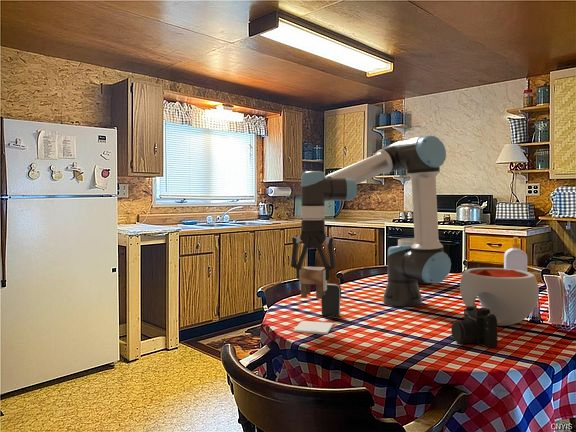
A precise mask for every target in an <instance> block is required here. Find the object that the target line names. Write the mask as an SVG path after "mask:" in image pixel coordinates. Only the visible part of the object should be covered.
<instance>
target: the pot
mask: <svg viewBox="0 0 576 432" xmlns="http://www.w3.org/2000/svg"><path fill="white" fill-rule="evenodd" d="M459 283H460V284H459V292H460V296H461V299H462V301H463V304H464V305H465V308H466V307H467V306H473V307H475V306H476V304H475V303H476V300H477V299H478V300H479V303H480V308H487V309H489V310H490V314H494V315H495V316H496V319H497V326H500V327H503V326H504V327H505V326H511V325H515V324H518V323H520V322H522V321H523V320H525V319H527V318H528V317H529V316H530V315H531V313H533V311H534V309H535V308H536V305H537V304H538V301H539V297H540V296H539V294H540V292H539V291H540V289H539V284H538V280H537V277H536V276H535V274H534V273H532V272H529V271H527V272H526V271H521V270H514V269H504V267H501V268H500V267H476V268H475V267H473V268H467V269H465V270H464V271H463V272H462V275H461V277H460V282H459Z"/></svg>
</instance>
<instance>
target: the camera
mask: <svg viewBox="0 0 576 432" xmlns="http://www.w3.org/2000/svg"><path fill="white" fill-rule="evenodd" d="M477 307H478V306H477V305H475V307H473V306H467V307H466V306H465V308H463V320H457V321H456V320H454V322H452V324H451V328H450V329H451V330H450V331H451V336H452V337H453V340H454V341H455V342H456V343H458V344H459V343H460V344H465V343H467V344H469V343H472V344H474V343H475V344H474V345H479V346H484V347H485V348H487V349H493V350H495V349H498V325H497V319H496V316H495V315H494V314H490V310H489V309H487V308H482V307H479V308H477Z"/></svg>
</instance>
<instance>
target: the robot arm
mask: <svg viewBox="0 0 576 432" xmlns="http://www.w3.org/2000/svg"><path fill="white" fill-rule="evenodd" d="M446 158H447V150H446V147H445V144H444V143H443V142H442V141H441V140H440V138H439V137H437V136H435V135H420V136H416V137H411V138H403V139H400V140H398V141H395V142H393V143H391V144H389V145H387V146H385V147H383V148H381V149H379V150H377V151H376V152H375V154H374V155H371V156H369V157H366V158H365V159H362V160H360V161H357V162H354V163H353V164H350V165H348V166H346V167H343V168H341V169H340V168H339V169H338V170H336V171H334V172H331V173H329V174H327V175H325V172H324V171H320V170H319V171H316V170H315V171H314V170H312V171H311V170H310V171H303V172H302V174H301V180H300V181H301V182H300V190H301V193H300V196H301V197H300V199H301V209H300V210H301V211H300V213H301V215H300V216H301V219H302V220H301V223H300V225H301V233H300V236H294V237H292V238H291V240H292V242H291V243H292V253H291V259H290V260H291V261H290V267H291V268H293V269H295V270H296V279H297V280H300V269H302V268H303V264H304V262H305V259H306V256H307V254H308V251H309V249H312V248H313V249H316V250H317V251H318V254H319V256H320V259H321V262H322V265H323V267H325V270H324V271H323V291H326V290H327V283H328V281H330V279H331V270H334V269H335V268H336V266H337V265H336V264H337V263H336V257H335V249H334V243H335V237H329V236H327V235H326V232H325V231H326V230H325V229H326V227H325V226H326V224H325V220H324V219H325V217H326V216H325V215H326V211H325V209H326V208H325V206H326V205H325V203H326V202H329V201H330V202H331V201H332V202H333V201H337V202H339V201H340V202H341V201H342V202H346V201H352V200H354V199H355V198H356V196H357V193H358V186H357V185H358V184H359V185H360V184H361V183H363V182H365V181H367V180H370V179H372V178H374V177H377V176H378V175H381V174H390V173H392V172H395V171H402V170H406V175H407V176H408V177H409V178H410V179H411V193H412V196H411V198H412V215H413V233H414V235H413V236H414V237H413V238H415V242H414V244H413V245H406V246H398V245H395V246H389V247H388V249H387V256H386V260H387V263H386V264H387V283H386V287H385V290H384V293H383V298H382V299H383V300H382V301H383V303H384V304H387V305H389V306H395V307H416V306H421V305H422V304H423V297H422V293H421V291H420V288H419V284H418V283H417V280H420V281H424V282H427V283H426V284H431V283H432V284H439V283H442V282H443V281H445V279H447V277H448V275H449V273H450V271H451V268H452V267H451V266H452V262H451V258H450V256H449V255H448V254H447V253H446V252H444V245H443V244H442V243H441V241H440V239H439V223H438V222H439V220H438V203H437V202H438V199H437V179H436V177H437V176H438V175H439V174H440V173H441V171H440V169H441V168H440V167H441V166H442V165H443V164H445V163H444V162H445V161H446ZM325 241H326V244H327V247H328V248H327V249H328V257H329V260H328V258H327V255H326V252H325V249H324V245H323V244H324V242H325ZM300 242H302V243H303V247H302V251H301V254H300V256H299V259H298V253H299V246H300V245H299V243H300ZM297 260H298V261H297ZM299 291H301V284H300V283H299Z"/></svg>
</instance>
